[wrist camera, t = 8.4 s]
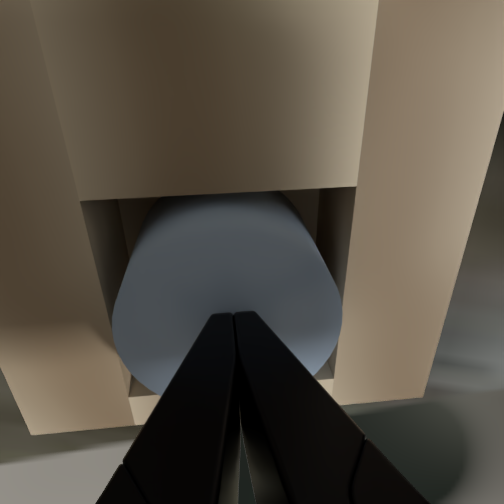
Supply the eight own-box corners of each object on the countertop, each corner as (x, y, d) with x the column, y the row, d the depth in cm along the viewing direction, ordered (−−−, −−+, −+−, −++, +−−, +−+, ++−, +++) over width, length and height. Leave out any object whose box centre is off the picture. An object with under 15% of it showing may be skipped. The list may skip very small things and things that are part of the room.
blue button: (312, 168, 9) (354, 221, 7) (303, 315, 11) (332, 399, 9) (122, 177, 9) (88, 237, 6) (150, 328, 11) (132, 418, 8)
